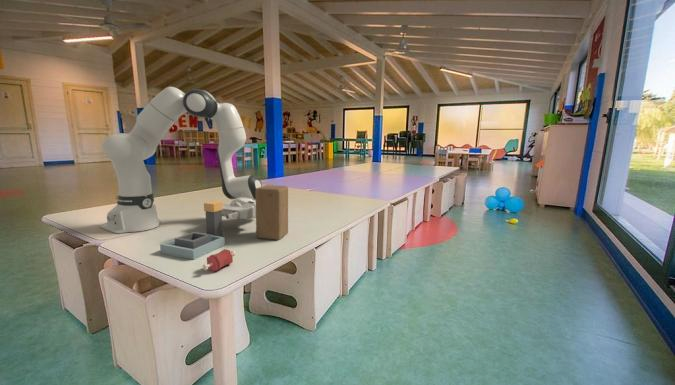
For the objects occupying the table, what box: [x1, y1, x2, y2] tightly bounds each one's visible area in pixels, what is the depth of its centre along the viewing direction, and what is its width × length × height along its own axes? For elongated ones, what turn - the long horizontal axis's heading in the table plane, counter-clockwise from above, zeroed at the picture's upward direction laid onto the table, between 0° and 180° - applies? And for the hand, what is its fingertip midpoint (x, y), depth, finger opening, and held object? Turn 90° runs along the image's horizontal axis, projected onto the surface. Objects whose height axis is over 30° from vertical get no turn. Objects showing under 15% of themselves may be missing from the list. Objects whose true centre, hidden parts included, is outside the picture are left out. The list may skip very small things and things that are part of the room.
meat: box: [202, 248, 236, 272], centre depth 84 cm, size 12×5×5 cm, turn 158°
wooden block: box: [255, 184, 289, 241], centre depth 112 cm, size 10×10×20 cm
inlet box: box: [159, 231, 226, 261], centre depth 97 cm, size 14×14×4 cm
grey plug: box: [203, 200, 224, 237], centre depth 108 cm, size 5×5×14 cm
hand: (217, 215), depth 110 cm, fingers open, 8 cm apart
